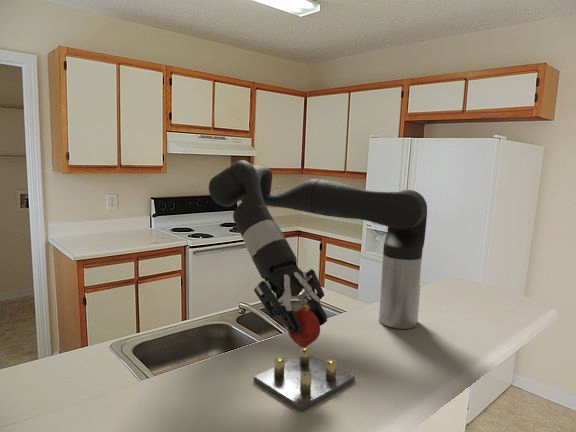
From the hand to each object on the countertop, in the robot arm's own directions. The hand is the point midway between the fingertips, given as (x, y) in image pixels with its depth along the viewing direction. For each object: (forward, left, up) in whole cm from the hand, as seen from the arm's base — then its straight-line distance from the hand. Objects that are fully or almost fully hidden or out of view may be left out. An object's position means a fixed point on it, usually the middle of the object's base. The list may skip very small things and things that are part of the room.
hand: (311, 328), depth 73 cm
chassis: (0, -1, -11) cm, 11 cm away
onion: (0, -2, -4) cm, 5 cm away
